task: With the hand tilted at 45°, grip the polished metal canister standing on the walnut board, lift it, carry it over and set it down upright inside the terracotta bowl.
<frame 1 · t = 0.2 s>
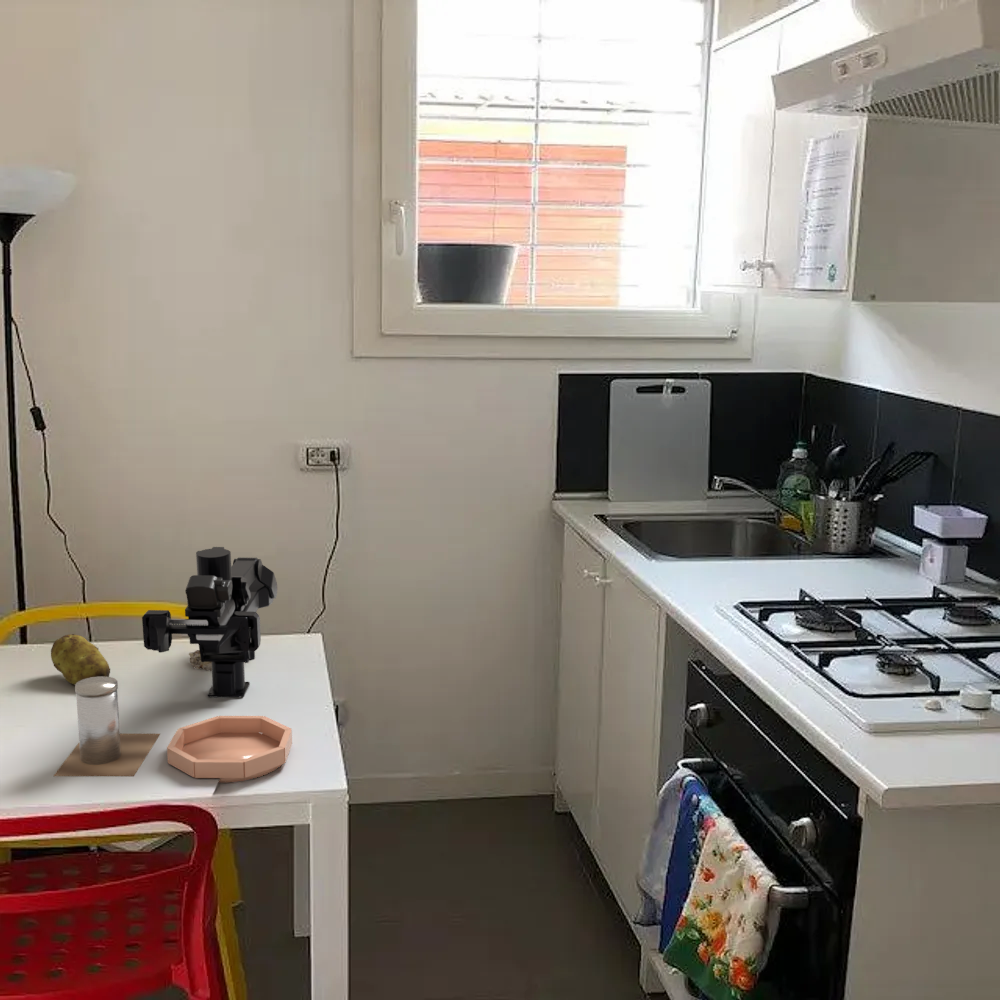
hand: (188, 649, 191), 17 cm above the table, tool horizontal, fingers open, 9 cm apart
polished metal canister: (100, 756, 190), point 1 cm above the table, touching walnut board
walnut board: (109, 758, 191), on the table
mineral rock: (217, 665, 234), on the table
terracotta bowl: (231, 758, 192), on the table
potato: (80, 682, 224), on the table
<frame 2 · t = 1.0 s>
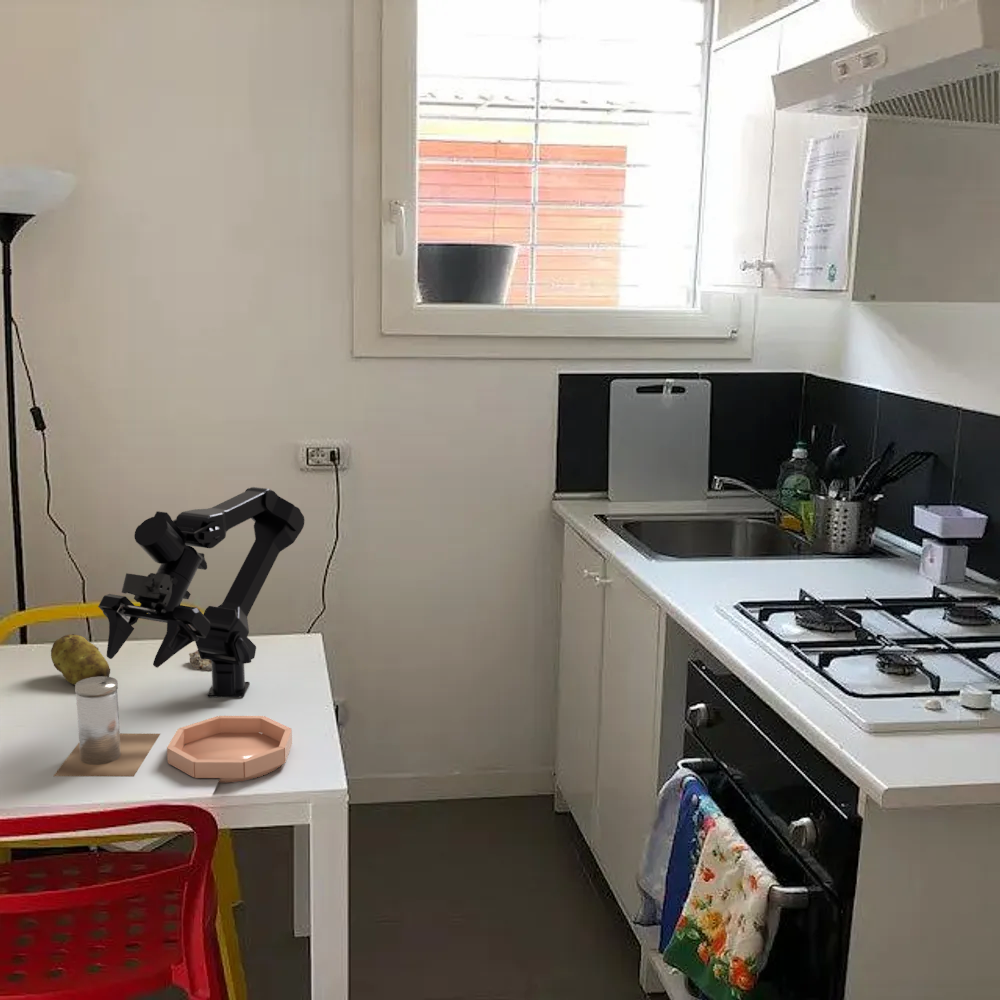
hand: (131, 661, 194), 14 cm above the table, tool tilted 45°, fingers open, 9 cm apart
nothing on the table moved.
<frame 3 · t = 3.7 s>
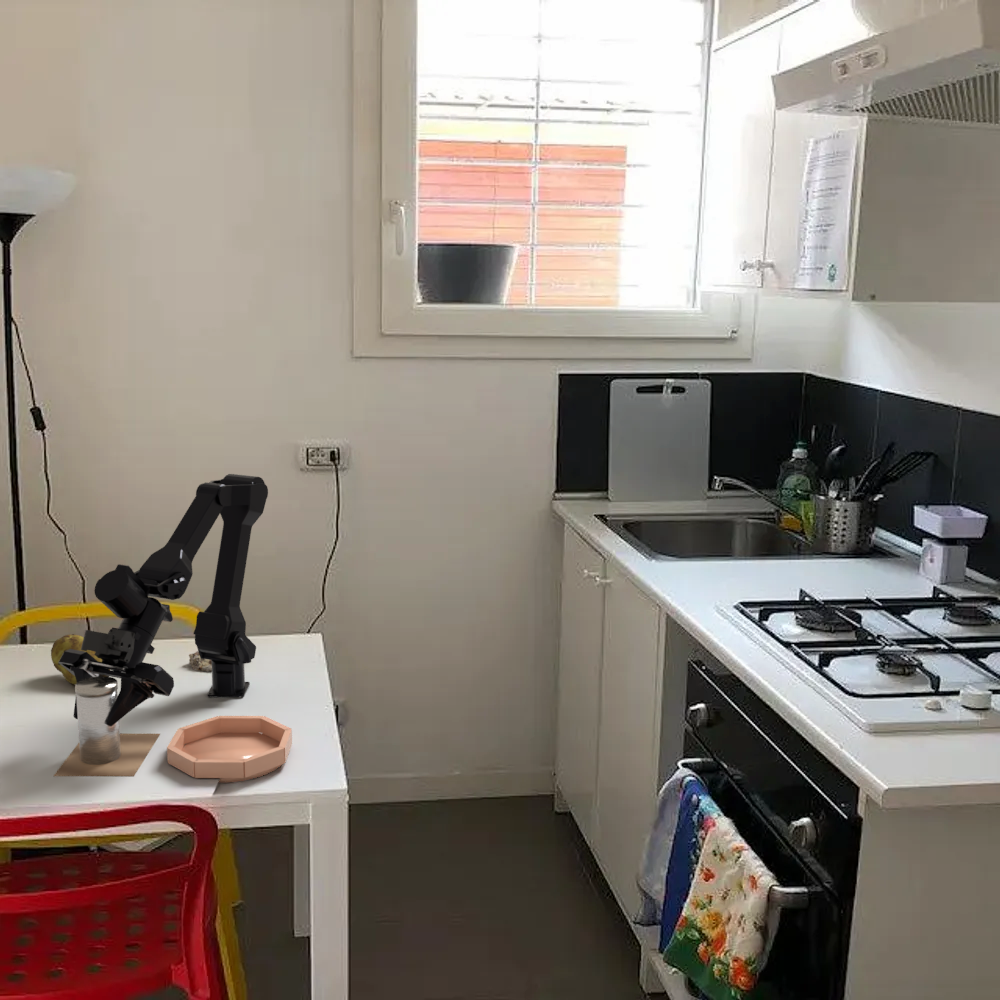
hand: (92, 721, 187), 7 cm above the table, tool tilted 45°, fingers closed on polished metal canister, 6 cm apart
polished metal canister: (100, 756, 190), point 1 cm above the table, touching gripper, walnut board
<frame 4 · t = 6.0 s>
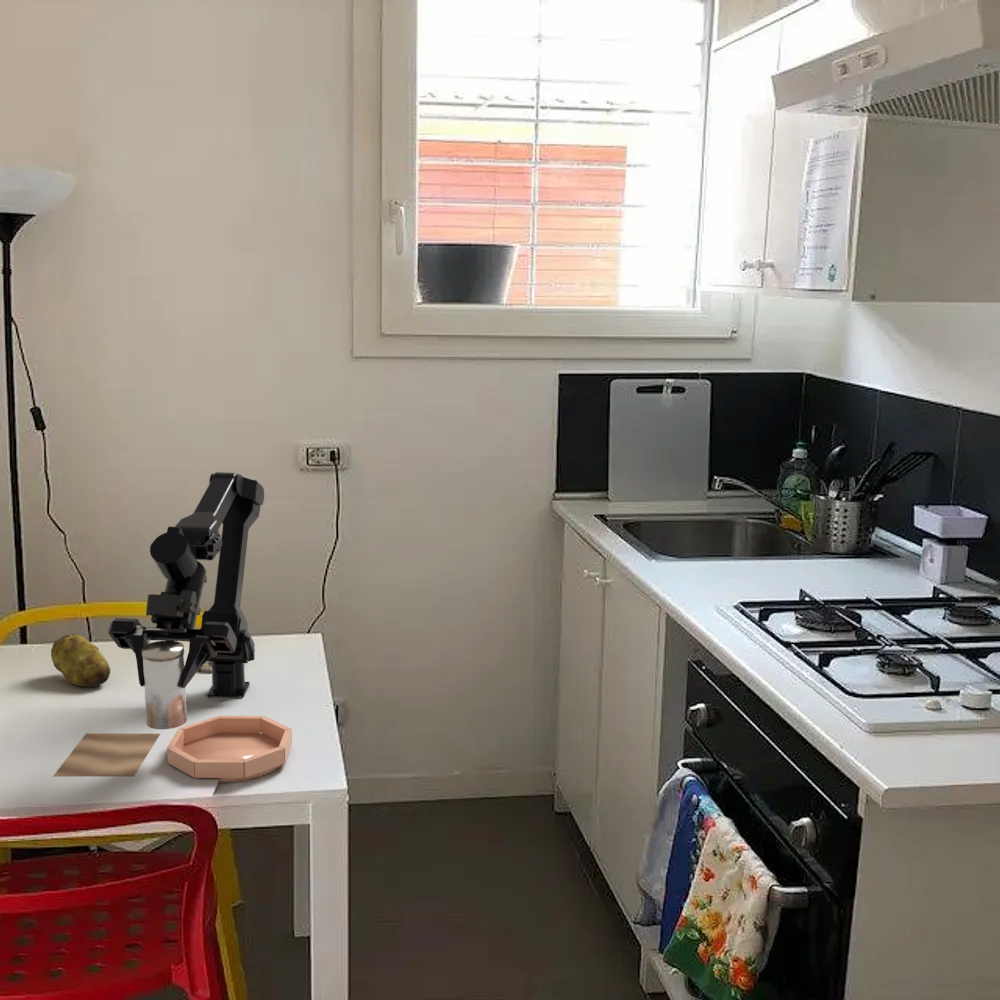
hand: (161, 686, 185), 13 cm above the table, tool tilted 45°, fingers closed on polished metal canister, 6 cm apart
polished metal canister: (166, 721, 188), point 7 cm above the table, touching gripper
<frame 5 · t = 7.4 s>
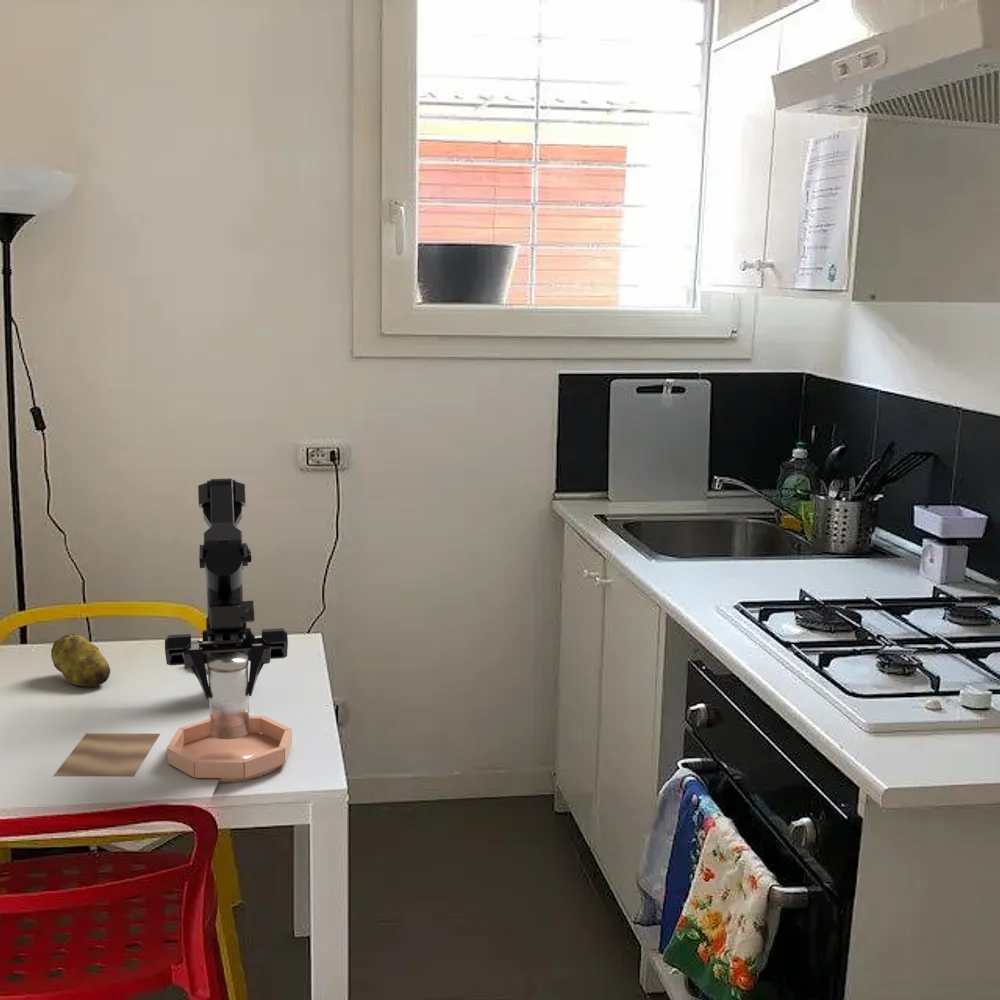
hand: (229, 696, 188), 11 cm above the table, tool tilted 45°, fingers closed on polished metal canister, 6 cm apart
polished metal canister: (230, 731, 191), point 5 cm above the table, touching gripper
when the fingers open (9 cm above the table, at t = 8.3 s): polished metal canister drops 1 cm, resting on terracotta bowl.
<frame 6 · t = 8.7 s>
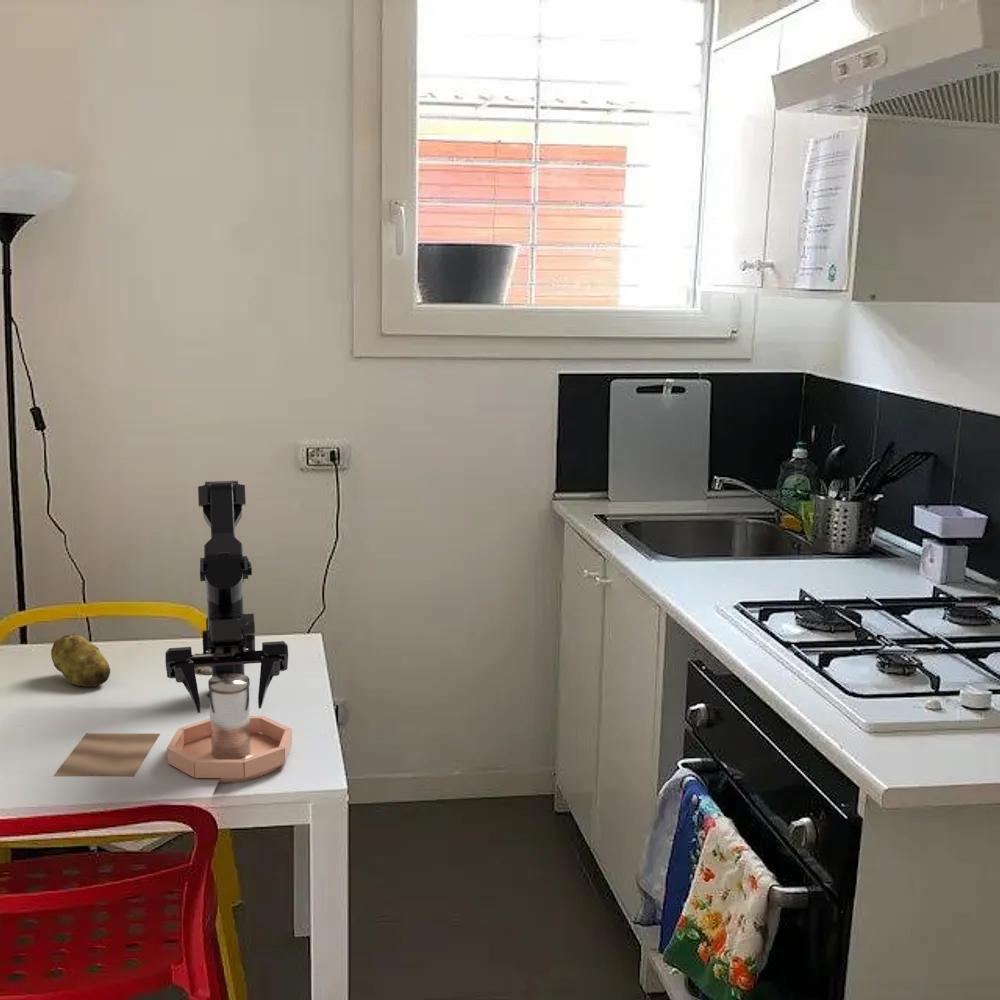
hand: (229, 709, 188), 9 cm above the table, tool tilted 45°, fingers open, 9 cm apart
polished metal canister: (231, 752, 191), point 1 cm above the table, touching terracotta bowl
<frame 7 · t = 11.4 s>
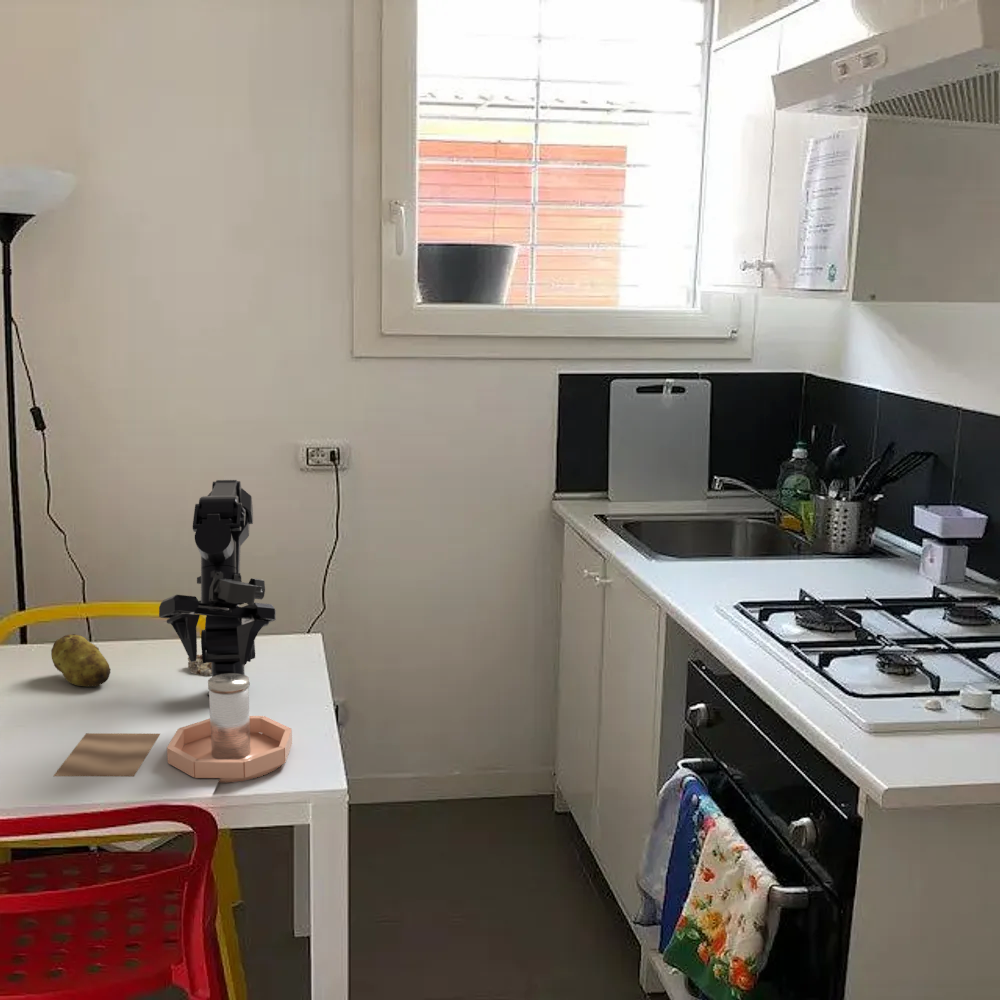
hand: (218, 663, 198), 12 cm above the table, tool tilted 30°, fingers open, 9 cm apart
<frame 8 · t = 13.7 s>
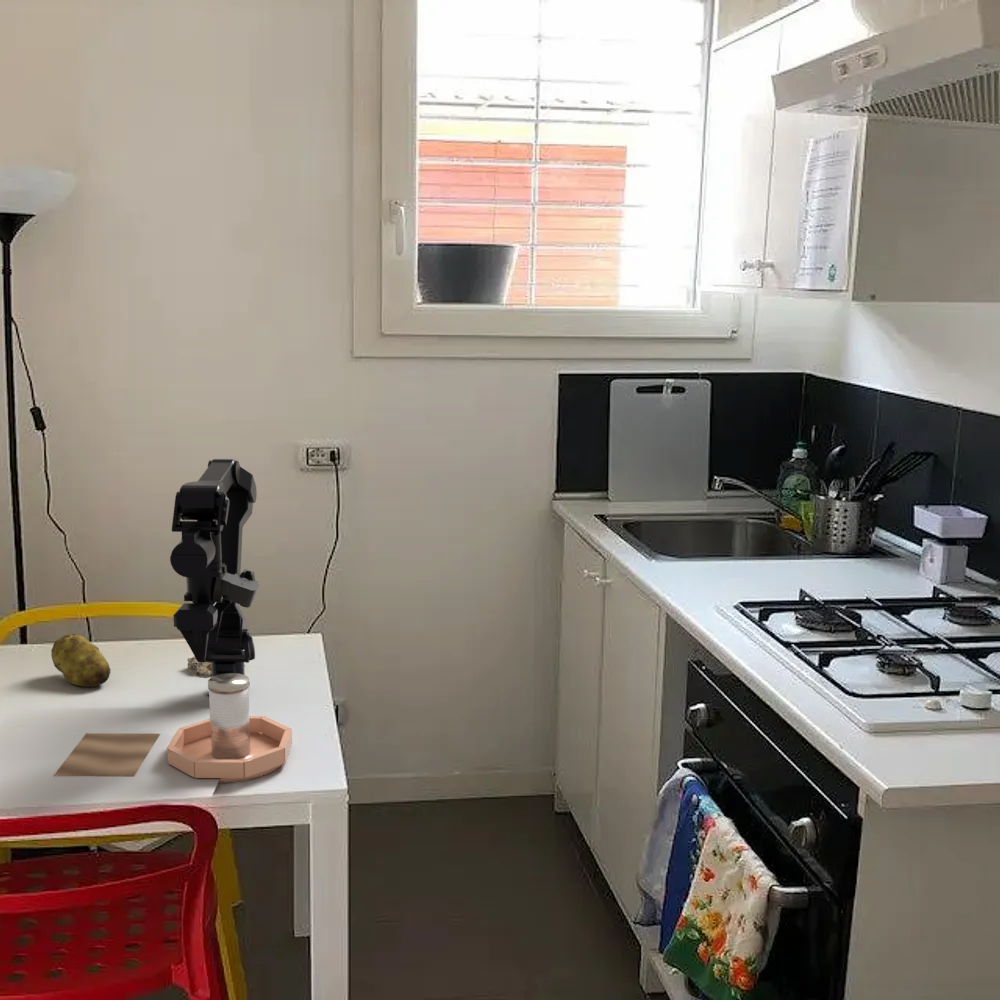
hand: (207, 652, 201), 13 cm above the table, tool pointing down, fingers open, 9 cm apart
at the end: polished metal canister inside the target area on the terracotta bowl (0.1 cm from its centre), point 1.0 cm above the terracotta bowl's base; polished metal canister tilted 0°; the gripper is holding nothing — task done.
